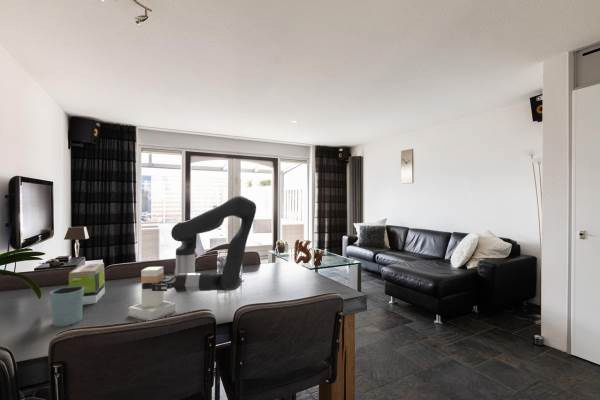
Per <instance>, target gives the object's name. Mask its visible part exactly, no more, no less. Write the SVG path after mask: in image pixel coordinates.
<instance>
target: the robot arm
mask: <svg viewBox="0 0 600 400" xmlns="http://www.w3.org/2000/svg"><path fill="white" fill-rule="evenodd" d="M256 213H257V205H256V203H255V202H254V201H253V200H251V199H249V198H247V197H244V196H242V195H236V196H233V197H232V198H230V199H227V200H226V201H225V202H224V203H222V204H220V205H218V206H216V207H214V208H211V209H209V210H207V211H205V212H203V213H200V214H199V215H197V216H195V217H192V218H191V219H189V220H186V221H182V222H179V223H176V224H174V226H173V227H172V229H171V231H170V232H171V233H170V234H171V237H172V239H173V240H174V241H176V242H182V244H181V245H180V246H178V247H177V248H176V249H175V268H174V275H164V278H163V280H160V281H159V282H155V283H154V282H153V283H143V284H142V285H141V290H142V289H152V291H164V292H167V291H168V290H172V289H174V290H175V292H176V293H197V292H211V291H223V292H229V291H232V292H233V291H236V290H237V289H239V288H240V286H241V282H242V280H241V277H240V273H241V269H242V268H241V267H242V265H243V262H244V257H245V252H246V245H247V241H248V238H249V235H250V231H251V229H252V225H253V222H254V219H255V216H256ZM228 217H236V218H239V219H241V220H240V221H241V223H240V227H239V229H238V230H237V232H236V233H235V235H234V236H233V237H232V239H231V240H230V242H229V244H228V246H227V253H226V258H225V263H224V266H223V270H222V273H214V272H196V249H197V241H198V240H197V239H198V237H197V236H198V234H203V233H207V232H211V231H213V230H216V229H218V228H220V227H221V226H222V225H223V224H224V221H225V219H226V218H228ZM161 283H162V284H161ZM155 286H157V287H155Z"/></svg>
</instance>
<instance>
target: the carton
mask: <svg viewBox="0 0 600 400" xmlns="http://www.w3.org/2000/svg"><path fill="white" fill-rule="evenodd" d="M140 271H141V273H140V276H141V277H140V280H141V282H140V283H141V286H142V284H143V283H153V282H154V283H155V282H159V281H160V280H163V278H164V276H165V272H164V266H148V267H145V268H143V269H142V270H140ZM161 284H162V283H161ZM155 287H157V286H155ZM163 301H165V291H152V289H142V288H141V303H142V307H146V306H158V305H160V304H161V303H162V302H163Z"/></svg>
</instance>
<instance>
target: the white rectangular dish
mask: <svg viewBox="0 0 600 400" xmlns="http://www.w3.org/2000/svg"><path fill="white" fill-rule="evenodd" d="M174 313H176V303H175V302H170V301H167V300H164V301H163V302H162V303H161V304H160V305H158V306H146V307H142V302H140V303H136V304H133V305H131V306H129V307H128V316H129V317H131V318H135V319H139V320H141V319H143V320H142V321H145V320H150V319H155V318H160V317H162V318H164V317H167V316H169V315H171V314H174ZM160 319H161V318H160Z"/></svg>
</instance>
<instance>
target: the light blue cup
mask: <svg viewBox="0 0 600 400" xmlns="http://www.w3.org/2000/svg"><path fill="white" fill-rule="evenodd" d="M83 295H84V287H83V286H70V287H69V286H65V287H64V286H63V287H59V288H56V289H53V290H51V291H49V296H50V297H49V298H50V304H51V314H52V324H53V325H52V326H54V327H66V326H67V327H68V326H71V324H72V325H75V324H77V323H79V322H80V321H82V319H83V307H84V305H83Z"/></svg>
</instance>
